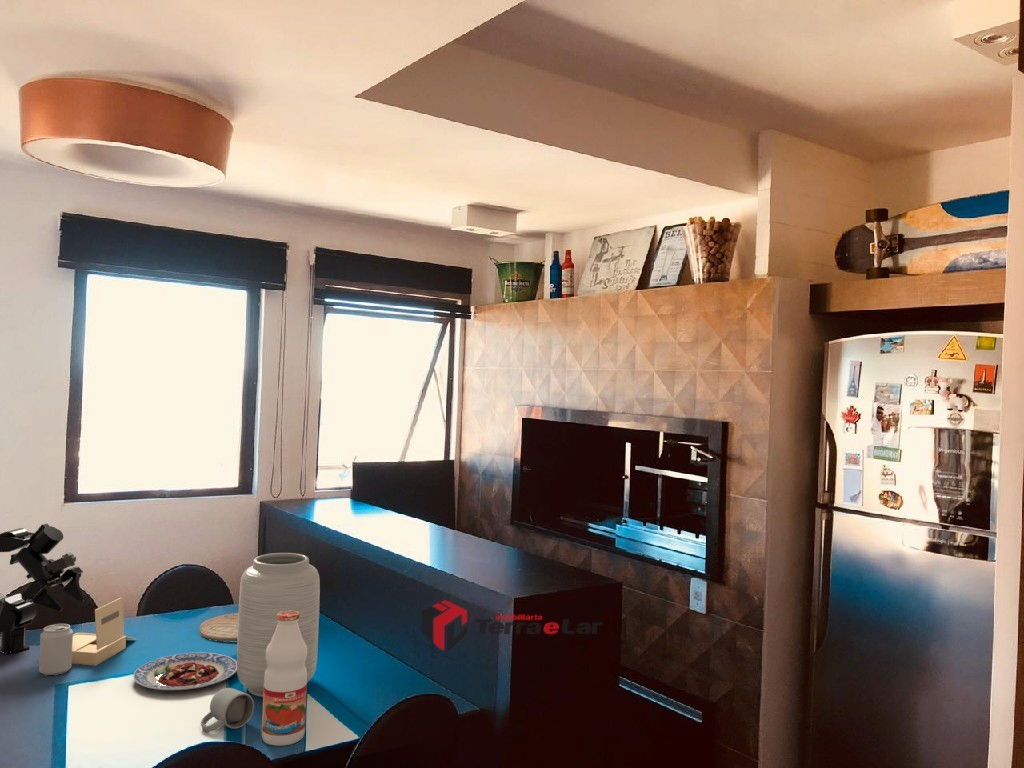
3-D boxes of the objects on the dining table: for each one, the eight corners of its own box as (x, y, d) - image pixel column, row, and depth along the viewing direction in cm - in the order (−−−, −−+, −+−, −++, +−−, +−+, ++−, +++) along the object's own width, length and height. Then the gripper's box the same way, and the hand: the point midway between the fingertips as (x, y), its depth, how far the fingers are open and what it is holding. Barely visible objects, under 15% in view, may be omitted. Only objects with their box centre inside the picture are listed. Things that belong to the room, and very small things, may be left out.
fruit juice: (301, 725, 180) (306, 605, 180) (308, 743, 172) (313, 617, 171) (259, 731, 176) (263, 608, 176) (263, 749, 168) (268, 621, 168)
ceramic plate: (258, 671, 212) (259, 660, 212) (182, 705, 189) (183, 693, 189) (189, 653, 223) (190, 643, 223) (110, 684, 199) (110, 672, 199)
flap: (96, 650, 212) (94, 609, 212) (123, 635, 224) (121, 597, 224) (98, 650, 211) (96, 609, 212) (124, 635, 224) (122, 597, 224)
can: (56, 678, 201) (58, 632, 201) (31, 675, 203) (33, 629, 203) (78, 668, 209) (79, 623, 209) (54, 664, 210) (55, 621, 210)
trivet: (224, 615, 259) (224, 609, 259) (295, 621, 256) (295, 615, 256) (183, 639, 235) (183, 633, 235) (260, 646, 231) (260, 640, 231)
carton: (43, 661, 212) (44, 649, 212) (91, 636, 233) (91, 625, 233) (95, 665, 211) (96, 652, 211) (138, 640, 231) (139, 628, 231)
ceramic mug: (235, 712, 186) (236, 680, 186) (254, 722, 181) (255, 690, 180) (193, 727, 178) (194, 693, 177) (212, 738, 172) (212, 704, 172)
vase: (288, 708, 189) (293, 571, 189) (218, 695, 195) (223, 562, 195) (330, 678, 208) (335, 554, 208) (266, 667, 214) (270, 547, 214)
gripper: (31, 552, 209) (69, 595, 208) (77, 539, 228) (111, 578, 227) (4, 580, 210) (41, 623, 209) (52, 564, 229) (86, 603, 228)
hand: (72, 605), depth 218 cm, fingers open, 9 cm apart
